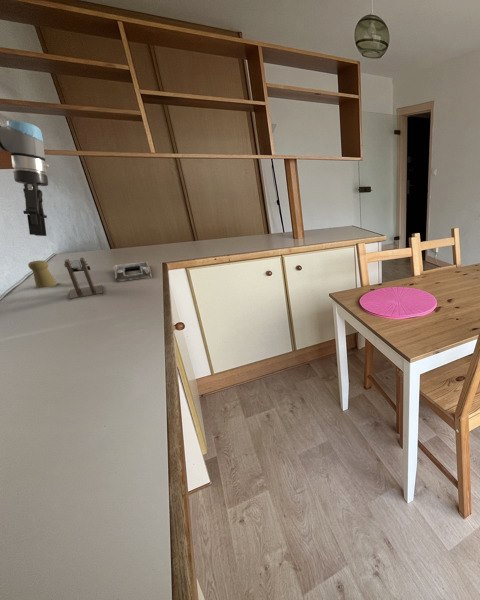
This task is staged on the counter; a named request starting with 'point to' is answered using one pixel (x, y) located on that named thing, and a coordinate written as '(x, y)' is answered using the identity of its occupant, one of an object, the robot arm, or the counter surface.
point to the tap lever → (77, 266)
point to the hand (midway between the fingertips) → (38, 235)
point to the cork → (41, 274)
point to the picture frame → (132, 266)
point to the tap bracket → (78, 291)
